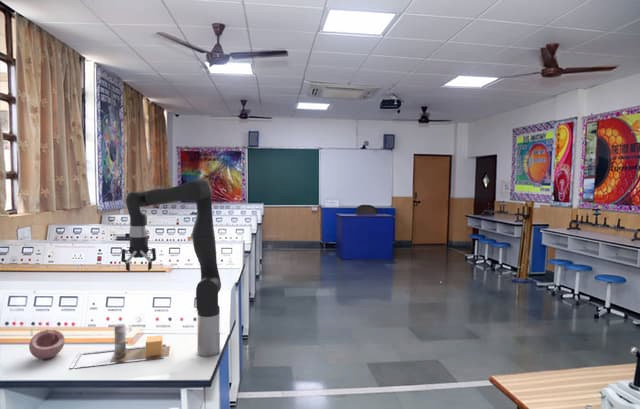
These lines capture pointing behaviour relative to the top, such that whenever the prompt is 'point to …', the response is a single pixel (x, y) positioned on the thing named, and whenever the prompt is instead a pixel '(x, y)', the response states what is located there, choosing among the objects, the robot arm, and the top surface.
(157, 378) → the top surface
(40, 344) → the pink round bowl
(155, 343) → the cube
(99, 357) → the top surface
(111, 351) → the track
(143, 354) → the grey post on base
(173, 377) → the top surface
